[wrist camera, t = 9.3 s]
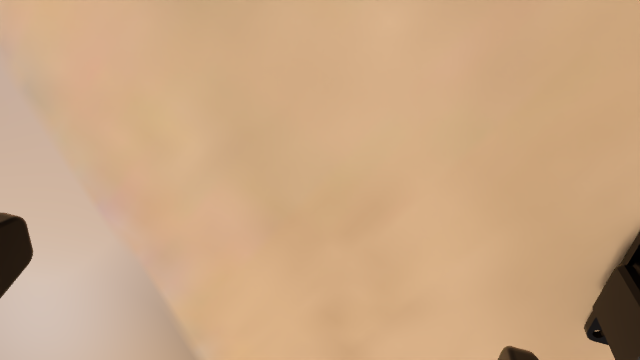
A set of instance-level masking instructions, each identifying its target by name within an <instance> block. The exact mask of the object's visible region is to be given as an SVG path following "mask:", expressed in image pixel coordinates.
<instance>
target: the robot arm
mask: <svg viewBox="0 0 640 360" xmlns="http://www.w3.org/2000/svg"><path fill="white" fill-rule="evenodd" d="M32 256H33V248H32V245H31V240H30V236H29V233H28V228H27V224H26V222H25V220H24V219H23V218H21V217H18V216H15V215H11V214H7V213H0V298H1V297H2V296H3V295H4V293H5V292H6V291H7V290H8V289H9V287H10V286H11V285H12V284H13V282H14V281H15V280H16V279H17V278H18V276H19V275H20V274H21V273H22V271H23V270H24V269H25V268H26V267H27V265H28V264H29V262H30V261H31V259H32ZM584 329H585V332H586V335H587V337H588V338H589V339H590V340H592V341H595V342H599V343H603V344H607V345H609V346H610V349H611V351H612V353H613V355H614V358H615V360H640V232H639V234H638V236H637V237H636V239H635V241H634V242H633V244H632V246H631V247H630V249H629V251H628V253H627V254H626V256H625V258H624V259H623V261H622V263H621V264H620V265H619V266H617V267H616V268H615V269H614V271H613V273H612V274H611V276H610V278H609V280H608V281H607V283H606V285H605V286H604V288H603V290H602V292H601V293H600V295H599V297H598V298H597V300H596V302H595V304H594V305H593V312H592V314H591V315H590V317H589V319H588V320H587V322H586V324H585V326H584ZM595 330H600V331H597V332H594V331H595ZM498 360H538V358H537V357H536V356H535V355H534V354H533V353H532V352H530V351H527V350H523V349H519V348H516V347H512V346H507V347H505V348H504V349H503V350H502V352H501V354H500V356H499V358H498Z"/></svg>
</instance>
